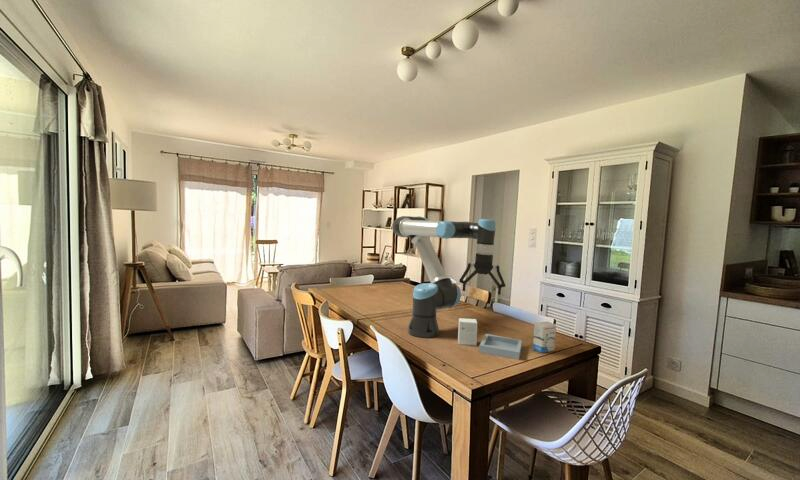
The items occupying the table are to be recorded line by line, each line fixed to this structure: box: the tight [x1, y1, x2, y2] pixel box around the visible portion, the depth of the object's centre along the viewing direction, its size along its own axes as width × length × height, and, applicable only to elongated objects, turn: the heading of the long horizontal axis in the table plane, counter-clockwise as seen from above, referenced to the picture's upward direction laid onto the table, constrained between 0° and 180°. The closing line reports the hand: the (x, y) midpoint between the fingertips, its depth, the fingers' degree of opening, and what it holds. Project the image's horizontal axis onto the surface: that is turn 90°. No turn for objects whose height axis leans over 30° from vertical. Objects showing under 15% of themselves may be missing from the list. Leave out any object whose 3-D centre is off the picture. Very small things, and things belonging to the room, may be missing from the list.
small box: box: [457, 317, 479, 346], centre depth 153 cm, size 8×6×10 cm
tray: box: [478, 333, 523, 361], centre depth 147 cm, size 16×16×3 cm
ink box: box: [532, 321, 557, 354], centre depth 148 cm, size 9×5×12 cm, turn 117°
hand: (480, 299), depth 153 cm, fingers open, 13 cm apart
